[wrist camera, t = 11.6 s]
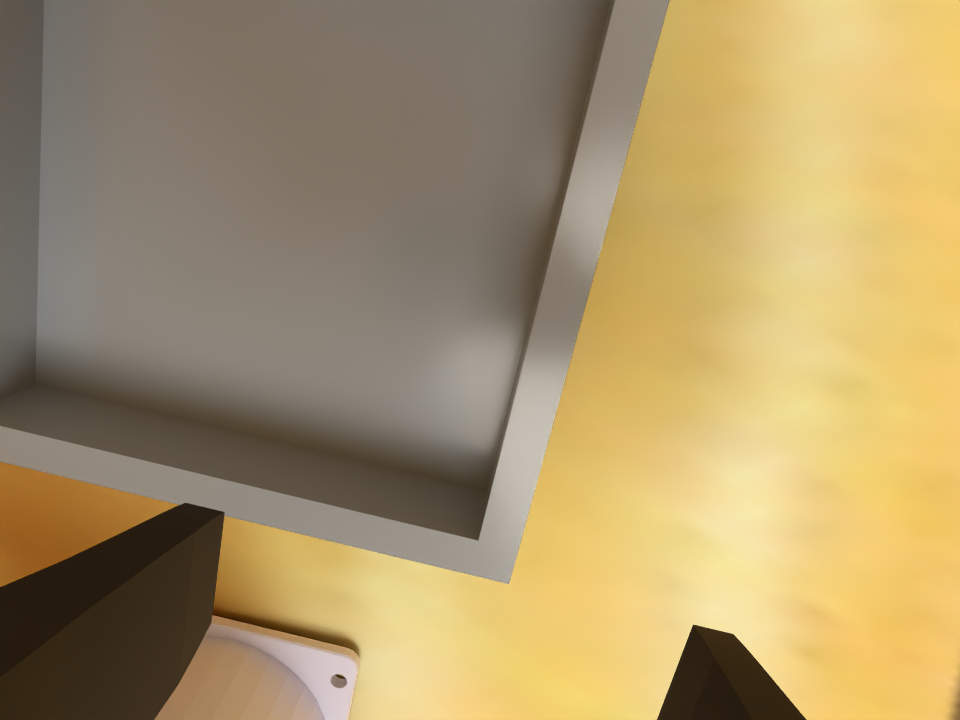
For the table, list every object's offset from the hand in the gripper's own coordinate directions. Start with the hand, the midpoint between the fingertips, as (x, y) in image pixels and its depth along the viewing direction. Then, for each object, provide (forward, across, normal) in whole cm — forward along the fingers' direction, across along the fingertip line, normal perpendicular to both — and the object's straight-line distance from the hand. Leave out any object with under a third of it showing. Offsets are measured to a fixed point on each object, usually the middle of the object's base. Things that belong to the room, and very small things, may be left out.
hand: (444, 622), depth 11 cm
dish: (+9, +6, -4) cm, 12 cm away
